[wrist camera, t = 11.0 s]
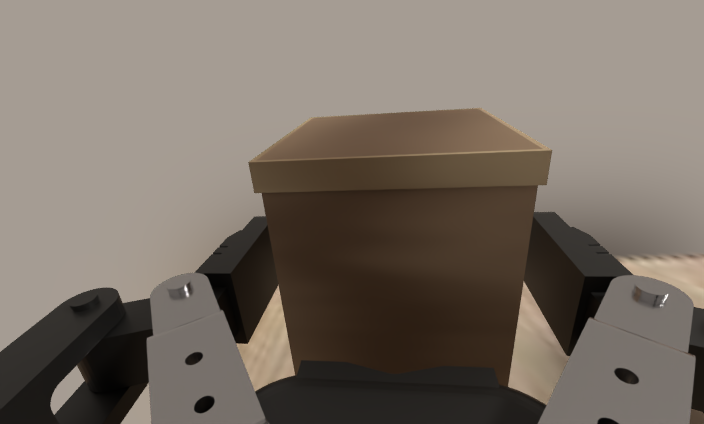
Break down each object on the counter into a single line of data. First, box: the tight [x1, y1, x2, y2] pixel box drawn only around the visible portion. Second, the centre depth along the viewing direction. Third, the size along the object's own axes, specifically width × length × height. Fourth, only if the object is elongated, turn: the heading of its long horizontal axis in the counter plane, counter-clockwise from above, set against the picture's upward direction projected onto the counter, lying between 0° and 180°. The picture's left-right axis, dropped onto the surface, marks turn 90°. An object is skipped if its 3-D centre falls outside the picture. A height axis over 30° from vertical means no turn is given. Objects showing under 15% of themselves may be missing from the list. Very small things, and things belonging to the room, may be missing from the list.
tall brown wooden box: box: [249, 108, 552, 387], centre depth 11 cm, size 5×5×14 cm
